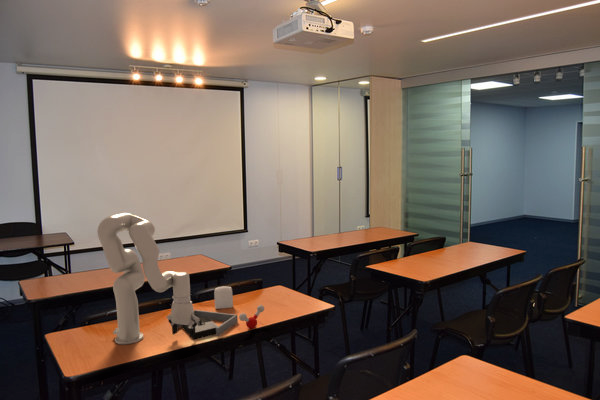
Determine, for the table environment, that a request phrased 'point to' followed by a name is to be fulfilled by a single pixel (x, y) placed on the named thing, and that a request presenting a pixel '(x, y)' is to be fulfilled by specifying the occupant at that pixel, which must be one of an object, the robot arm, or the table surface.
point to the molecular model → (251, 321)
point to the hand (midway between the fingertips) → (183, 334)
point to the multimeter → (202, 328)
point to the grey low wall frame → (228, 318)
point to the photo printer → (223, 297)
